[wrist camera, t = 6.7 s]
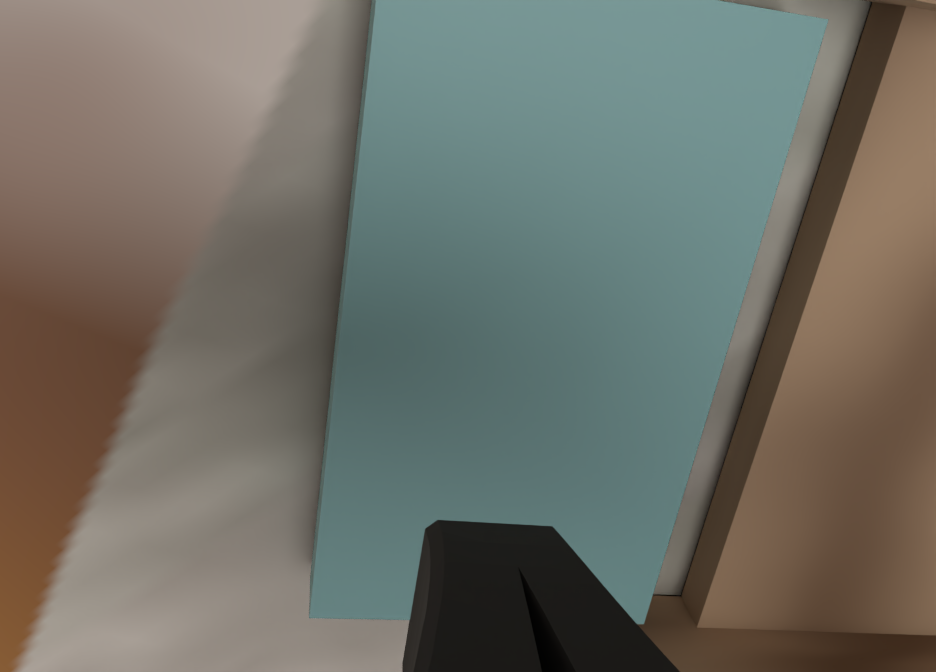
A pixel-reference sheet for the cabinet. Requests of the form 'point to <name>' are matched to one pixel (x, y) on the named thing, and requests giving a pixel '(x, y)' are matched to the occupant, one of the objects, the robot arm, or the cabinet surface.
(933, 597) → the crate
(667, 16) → the panel
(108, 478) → the cabinet surface
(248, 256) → the cabinet surface
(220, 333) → the cabinet surface
